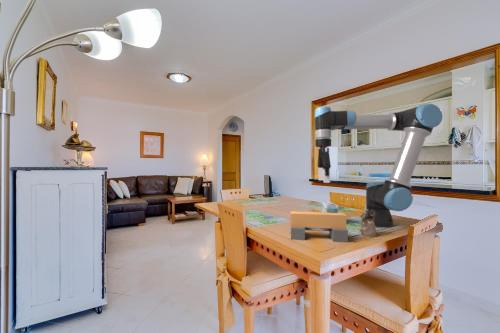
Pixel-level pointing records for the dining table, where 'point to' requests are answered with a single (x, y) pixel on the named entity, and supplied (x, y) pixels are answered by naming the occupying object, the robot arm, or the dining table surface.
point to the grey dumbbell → (335, 234)
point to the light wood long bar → (318, 220)
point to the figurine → (367, 224)
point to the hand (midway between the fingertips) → (323, 181)
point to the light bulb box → (330, 207)
